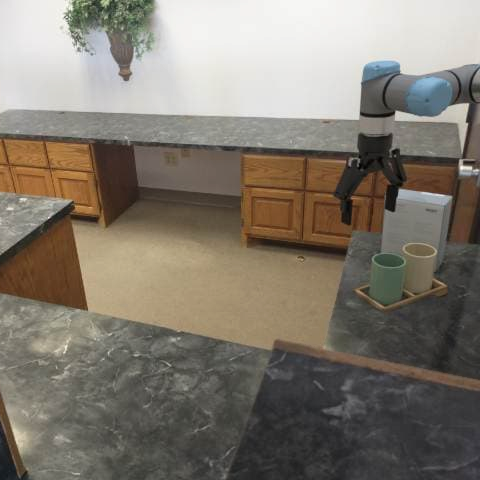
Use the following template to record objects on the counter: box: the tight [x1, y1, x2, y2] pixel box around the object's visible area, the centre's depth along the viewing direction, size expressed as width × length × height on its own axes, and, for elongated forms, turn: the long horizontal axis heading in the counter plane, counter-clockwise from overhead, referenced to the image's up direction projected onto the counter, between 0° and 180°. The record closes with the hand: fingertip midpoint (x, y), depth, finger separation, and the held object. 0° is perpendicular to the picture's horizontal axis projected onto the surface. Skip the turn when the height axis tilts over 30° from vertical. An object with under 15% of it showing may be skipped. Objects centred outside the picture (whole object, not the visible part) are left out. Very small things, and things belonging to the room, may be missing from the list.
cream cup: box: [402, 243, 437, 295], centre depth 130 cm, size 8×8×12 cm
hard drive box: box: [379, 188, 454, 273], centre depth 142 cm, size 16×8×20 cm, turn 49°
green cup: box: [368, 252, 406, 306], centre depth 127 cm, size 8×8×12 cm
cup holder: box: [353, 277, 449, 314], centre depth 131 cm, size 11×20×2 cm, turn 112°
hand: (368, 216), depth 126 cm, fingers open, 13 cm apart
